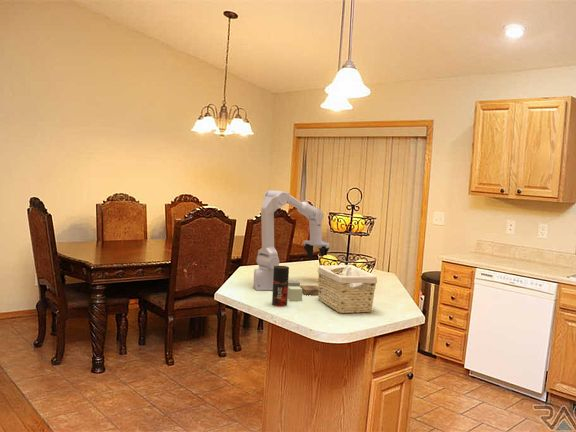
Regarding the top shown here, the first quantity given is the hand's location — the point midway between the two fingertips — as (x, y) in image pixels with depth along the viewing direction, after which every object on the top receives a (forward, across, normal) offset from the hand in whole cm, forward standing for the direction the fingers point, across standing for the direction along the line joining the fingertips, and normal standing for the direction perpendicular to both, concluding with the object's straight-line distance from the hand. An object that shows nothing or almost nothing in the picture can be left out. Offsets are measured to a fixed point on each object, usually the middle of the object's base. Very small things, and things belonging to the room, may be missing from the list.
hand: (317, 260), depth 238 cm
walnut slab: (+8, -13, +22) cm, 27 cm away
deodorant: (+4, -17, +47) cm, 50 cm away
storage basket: (+8, -34, +27) cm, 45 cm away
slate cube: (+7, -7, +28) cm, 29 cm away
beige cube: (+6, -16, +36) cm, 39 cm away
